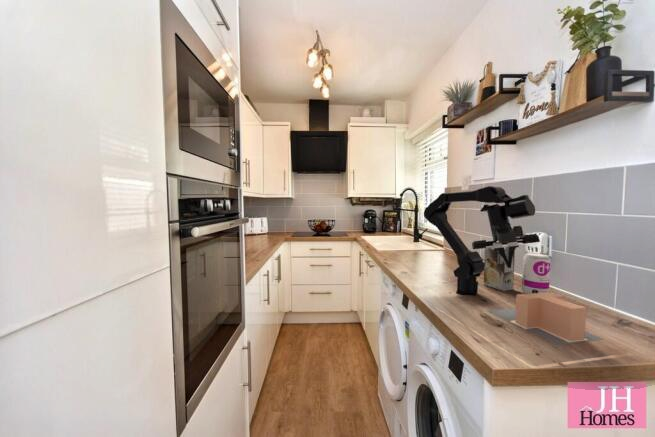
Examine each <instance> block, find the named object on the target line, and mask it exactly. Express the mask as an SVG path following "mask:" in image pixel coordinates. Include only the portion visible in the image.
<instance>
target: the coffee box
mask: <svg viewBox="0 0 655 437" xmlns="http://www.w3.org/2000/svg"><path fill="white" fill-rule="evenodd" d="M491 248H492V247H491V246H487V247H486V248H484V256H483V257H484V258H483V259H484V261H483V262H484V264H485V268H484V271H483V285H484V286H486V287H490V288H493V289H497V290H500V291H503V292H504V291H510V290H514V285H515V284H514V283H515V281H514V279H515V277H514V276H515V255H516V254H515V252H516V251H514V254H513V258H512V264H511V268H507V266H506V265H505V263H504V262H503V260H502V258H501V257H500V256H499V254H498V253H497V252H496V251H495V250H491ZM504 249H505V247H504ZM505 254H506V249H505ZM506 257H507V256H506Z"/></svg>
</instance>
